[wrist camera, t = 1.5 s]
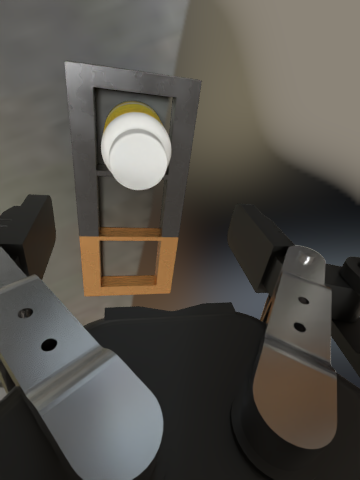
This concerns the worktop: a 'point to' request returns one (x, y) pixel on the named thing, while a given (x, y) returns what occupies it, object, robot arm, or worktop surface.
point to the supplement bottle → (135, 145)
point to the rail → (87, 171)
